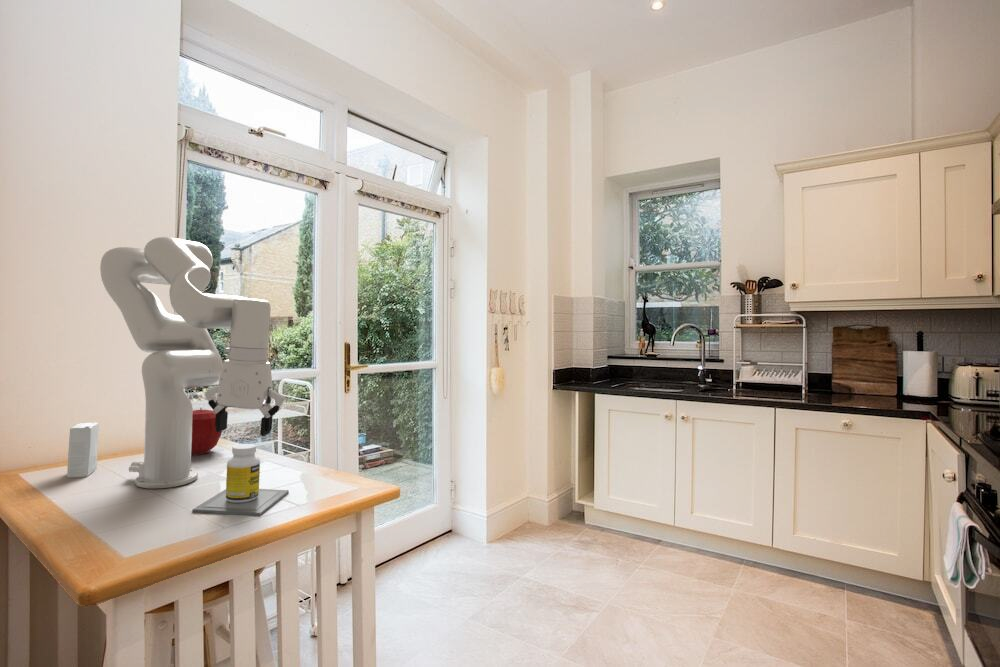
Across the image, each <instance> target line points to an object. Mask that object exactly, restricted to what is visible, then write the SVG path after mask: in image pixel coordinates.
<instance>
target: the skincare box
mask: <svg viewBox="0 0 1000 667" xmlns="http://www.w3.org/2000/svg"><path fill="white" fill-rule="evenodd" d="M99 424H100V422H81V423H77V424H75V425H74V426H72V427H71V428H69V439H68V453H67V454H68V455H67V456H68V458H67V469H66V470H67V471H66V474H67V475H66V477H67V478H68V479H69V478H86V477H89V476H90V475H91V474H92V473H94V472H95V471H96V470H97V465H98V464H97V463H98V443H99Z"/></svg>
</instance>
